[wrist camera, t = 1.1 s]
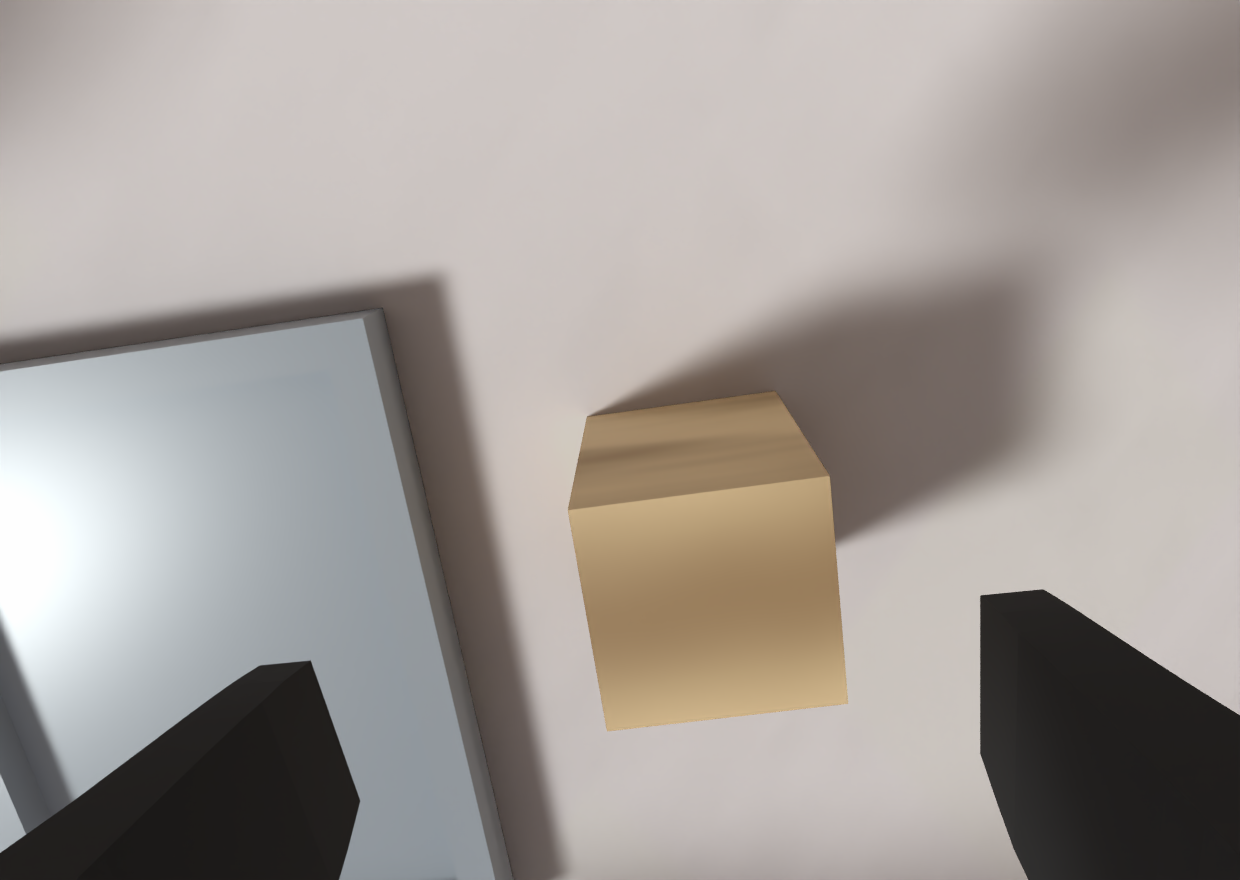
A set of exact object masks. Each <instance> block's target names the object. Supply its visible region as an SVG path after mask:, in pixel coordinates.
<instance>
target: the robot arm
mask: <svg viewBox="0 0 1240 880" xmlns="http://www.w3.org/2000/svg"><path fill="white" fill-rule="evenodd" d="M980 754H981V757H982V760H983V762H984V765H985V768H986V771H987V774H988V777H989V780H990V783H991V786H992V789H993V792H994V795H995V798H996V801H997V804H998V806H999V809H1000V812H1001V815H1002V817H1003V820H1004V823H1005V826H1006V828H1007V831H1008V834H1009V837H1010V840H1011V842H1012V845H1013V848H1014V850H1015V852H1016V854H1017V857H1018V859H1019V861H1020V863H1021V865H1022V867H1023V869H1024V871H1025V873H1026V876H1027V878H1028V880H1240V715H1238V714H1237V713H1235V712H1234V711H1232V710H1230V709H1229V708H1227V707H1225V706H1224V705H1222V704H1221V703H1219V702H1217V701H1216V700H1214V699H1213V698H1211V697H1209V696H1208V695H1206V694H1205V693H1203V692H1201V691H1200V690H1198V689H1197V688H1195V687H1194V686H1192V685H1190V684H1189V683H1187V682H1186V681H1184V680H1182V679H1181V678H1179V677H1178V676H1176V675H1175V674H1173V673H1172V672H1170V671H1169V670H1167V669H1165V668H1164V667H1162V666H1161V665H1159V664H1158V663H1156V662H1155V661H1153V660H1152V659H1150V658H1148V657H1147V656H1145V655H1144V654H1142V653H1141V652H1139V651H1138V650H1136V649H1135V648H1133V647H1132V646H1130V645H1129V644H1127V643H1126V642H1124V641H1123V640H1121V639H1120V638H1118V637H1116V636H1115V635H1113V634H1112V633H1110V632H1109V631H1107V630H1106V629H1104V628H1103V627H1101V626H1100V625H1098V624H1097V623H1095V622H1094V621H1092V620H1091V619H1089V618H1088V617H1086V616H1085V615H1083V614H1082V613H1080V612H1079V611H1077V610H1075V609H1074V608H1072V607H1071V606H1069V605H1068V604H1066V603H1065V602H1063V601H1061V600H1060V599H1058V598H1057V597H1055V596H1053V595H1052V594H1050V593H1048V592H1047V591H1045V590H1032V591H1022V592H1012V593H1001V594H991V595H981V596H980ZM359 804H360V798H359V796H358V793H357V790H356V787H355V784H354V781H353V779H352V776H351V773H350V770H349V767H348V764H347V762H346V759H345V756H344V753H343V750H342V747H341V745H340V742H339V739H338V736H337V733H336V730H335V728H334V725H333V722H332V719H331V716H330V713H329V711H328V708H327V705H326V702H325V699H324V696H323V694H322V691H321V688H320V685H319V682H318V679H317V677H316V674H315V671H314V668H313V665H312V662H311V660H310V661H300V662H290V663H279V664H269V665H260V666H258V667H256V668H255V669H253V670H252V671H250V672H248V673H247V674H245V675H244V676H242V677H240V678H239V679H237V680H236V681H234V682H233V683H232V684H230V685H229V686H227V687H226V688H224V689H223V690H222V691H220V692H219V693H217V694H216V695H214V696H213V697H212V698H210V699H209V700H208V701H206V702H205V703H204V704H202V705H201V706H199V707H198V708H197V709H195V710H194V711H193V712H191V713H190V714H189V715H187V716H186V717H185V718H183V719H182V720H181V721H179V722H178V723H177V724H175V725H174V726H173V727H171V728H170V729H169V730H167V731H166V732H165V733H163V734H162V735H161V736H159V737H158V738H157V739H155V740H154V741H153V742H151V743H150V744H149V745H147V746H146V747H145V748H143V749H142V750H141V751H139V752H138V753H137V754H135V755H134V756H133V757H131V758H130V759H129V760H127V761H126V762H125V763H123V764H122V765H121V766H119V767H118V768H117V769H115V770H114V771H113V772H111V773H110V774H109V775H107V776H106V777H105V778H103V779H102V780H101V781H99V782H98V783H97V784H95V785H94V786H93V787H91V788H90V789H89V790H87V791H86V792H85V793H83V794H82V795H81V796H79V797H78V798H77V799H75V800H74V801H72V802H71V803H70V804H68V805H67V806H65V807H64V808H63V809H61V810H60V811H58V812H57V813H56V814H54V815H53V816H51V817H50V818H49V819H47V820H46V821H44V822H43V823H41V824H40V825H39V826H37V827H36V828H34V829H33V830H32V831H30V832H29V833H27V834H26V835H25V836H23V837H22V838H20V839H19V840H18V841H16V842H15V843H13V844H12V845H10V846H9V847H8V848H6V849H5V850H3V851H2V852H1V853H0V880H339V878H340V875H341V872H342V868H343V865H344V861H345V858H346V855H347V851H348V847H349V843H350V840H351V836H352V832H353V828H354V824H355V820H356V816H357V812H358V808H359Z"/></svg>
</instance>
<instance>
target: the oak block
mask: <svg viewBox="0 0 1240 880" xmlns="http://www.w3.org/2000/svg"><path fill="white" fill-rule="evenodd" d="M568 514H569V520H570V525H571V531H572V537H573V542H574V548H575V554H576V559H577V565H578V571H579V576H580V582H581V587H582V593H583V599H584V604H585V610H586V616H587V621H588V627H589V632H590V638H591V644H592V649H593V655H594V661H595V666H596V672H597V678H598V683H599V689H600V694H601V700H602V706H603V711H604V717H605V723H606V728H607V731H615V730H623V729H632V728H641V727H649V726H658V725H667V724H676V723H684V722H693V721H702V720H710V719H719V718H728V717H736V716H745V715H754V714H763V713H771V712H780V711H789V710H797V709H806V708H815V707H824V706H832V705H841V704H848V696H847V684H846V671H845V659H844V646H843V634H842V621H841V609H840V596H839V584H838V571H837V559H836V547H835V534H834V522H833V509H832V497H831V484H830V475H829V474H828V472H827V471H826V469H825V468H824V466H823V465H822V463H821V461H820V460H819V458H818V457H817V455H816V454H815V452H814V450H813V449H812V447H811V446H810V444H809V443H808V441H807V440H806V438H805V436H804V435H803V433H802V432H801V430H800V429H799V427H798V425H797V424H796V422H795V421H794V419H793V418H792V416H791V415H790V413H789V411H788V410H787V408H786V407H785V405H784V404H783V402H782V400H781V399H780V397H779V396H778V394H777V393H776V391H771V392H763V393H756V394H749V395H742V396H734V397H727V398H720V399H713V400H705V401H698V402H691V403H683V404H676V405H669V406H662V407H654V408H647V409H640V410H632V411H625V412H618V413H611V414H603V415H596V416H589V417H587V419H586V424H585V429H584V434H583V438H582V443H581V448H580V453H579V458H578V463H577V468H576V473H575V478H574V482H573V487H572V492H571V497H570V502H569V507H568Z"/></svg>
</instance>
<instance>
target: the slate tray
mask: <svg viewBox="0 0 1240 880" xmlns="http://www.w3.org/2000/svg"><path fill="white" fill-rule="evenodd" d="M310 660H311V662H312V665H313V668H314V671H315V674H316V677H317V679H318V682H319V685H320V688H321V691H322V694H323V696H324V699H325V702H326V705H327V708H328V711H329V713H330V716H331V719H332V722H333V725H334V728H335V730H336V733H337V736H338V739H339V742H340V745H341V747H342V750H343V753H344V756H345V759H346V762H347V764H348V767H349V770H350V773H351V776H352V779H353V781H354V784H355V787H356V790H357V793H358V796H359V798H360V804H359V808H358V812H357V816H356V820H355V824H354V828H353V832H352V836H351V840H350V843H349V847H348V851H347V855H346V858H345V861H344V865H343V868H342V872H341V875H340V878H339V880H513V876H512V872H511V868H510V863H509V859H508V854H507V850H506V846H505V841H504V837H503V833H502V828H501V824H500V819H499V815H498V811H497V806H496V802H495V798H494V793H493V789H492V784H491V780H490V776H489V771H488V767H487V763H486V758H485V754H484V749H483V745H482V741H481V736H480V732H479V728H478V723H477V719H476V714H475V710H474V706H473V701H472V697H471V693H470V688H469V684H468V679H467V675H466V671H465V666H464V662H463V658H462V653H461V649H460V644H459V640H458V636H457V631H456V627H455V623H454V618H453V614H452V609H451V605H450V601H449V596H448V592H447V588H446V583H445V579H444V574H443V570H442V566H441V561H440V557H439V553H438V548H437V544H436V539H435V535H434V531H433V526H432V522H431V518H430V513H429V509H428V504H427V500H426V496H425V491H424V487H423V483H422V478H421V474H420V469H419V465H418V461H417V456H416V452H415V448H414V443H413V439H412V434H411V430H410V426H409V421H408V417H407V412H406V408H405V404H404V399H403V395H402V391H401V386H400V382H399V377H398V373H397V369H396V364H395V360H394V356H393V351H392V347H391V342H390V338H389V334H388V329H387V325H386V321H385V316H384V312H383V308H378V309H371V310H364V311H358V312H351V313H344V314H337V315H330V316H324V317H317V318H310V319H303V320H297V321H290V322H283V323H276V324H269V325H263V326H256V327H249V328H242V329H235V330H229V331H222V332H215V333H208V334H202V335H195V336H188V337H181V338H174V339H168V340H161V341H154V342H147V343H140V344H134V345H127V346H120V347H113V348H107V349H100V350H93V351H86V352H79V353H73V354H66V355H59V356H52V357H46V358H39V359H32V360H25V361H18V362H12V363H5V364H0V853H1V852H2V851H3V850H5V849H6V848H8V847H9V846H10V845H12V844H13V843H15V842H16V841H18V840H19V839H20V838H22V837H23V836H25V835H26V834H27V833H29V832H30V831H32V830H33V829H34V828H36V827H37V826H39V825H40V824H41V823H43V822H44V821H46V820H47V819H49V818H50V817H51V816H53V815H54V814H56V813H57V812H58V811H60V810H61V809H63V808H64V807H65V806H67V805H68V804H70V803H71V802H72V801H74V800H75V799H77V798H78V797H79V796H81V795H82V794H83V793H85V792H86V791H87V790H89V789H90V788H91V787H93V786H94V785H95V784H97V783H98V782H99V781H101V780H102V779H103V778H105V777H106V776H107V775H109V774H110V773H111V772H113V771H114V770H115V769H117V768H118V767H119V766H121V765H122V764H123V763H125V762H126V761H127V760H129V759H130V758H131V757H133V756H134V755H135V754H137V753H138V752H139V751H141V750H142V749H143V748H145V747H146V746H147V745H149V744H150V743H151V742H153V741H154V740H155V739H157V738H158V737H159V736H161V735H162V734H163V733H165V732H166V731H167V730H169V729H170V728H171V727H173V726H174V725H175V724H177V723H178V722H179V721H181V720H182V719H183V718H185V717H186V716H187V715H189V714H190V713H191V712H193V711H194V710H195V709H197V708H198V707H199V706H201V705H202V704H204V703H205V702H206V701H208V700H209V699H210V698H212V697H213V696H214V695H216V694H217V693H219V692H220V691H222V690H223V689H224V688H226V687H227V686H229V685H230V684H232V683H233V682H234V681H236V680H237V679H239V678H240V677H242V676H244V675H245V674H247V673H248V672H250V671H252V670H253V669H255V668H256V667H258V666H260V665H269V664H279V663H290V662H300V661H310Z"/></svg>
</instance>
